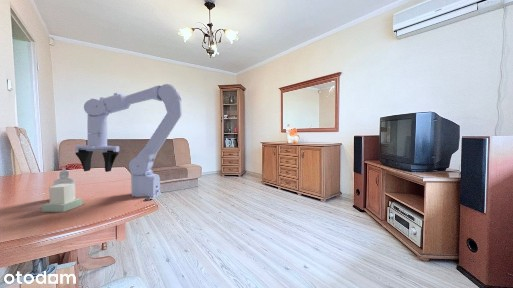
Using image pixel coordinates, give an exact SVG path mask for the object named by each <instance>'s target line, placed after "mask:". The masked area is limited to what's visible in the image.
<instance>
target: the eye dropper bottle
mask: <svg viewBox="0 0 513 288" xmlns="http://www.w3.org/2000/svg"><path fill="white" fill-rule="evenodd" d="M58 175H59V176H58V178H57V179H54V181H53V186H55V185H58V184H74V190H75V191H76V180H75V178H70V177H69V176H70V175H69V170H66V167H62V169H61V171H59V173H58Z"/></svg>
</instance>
